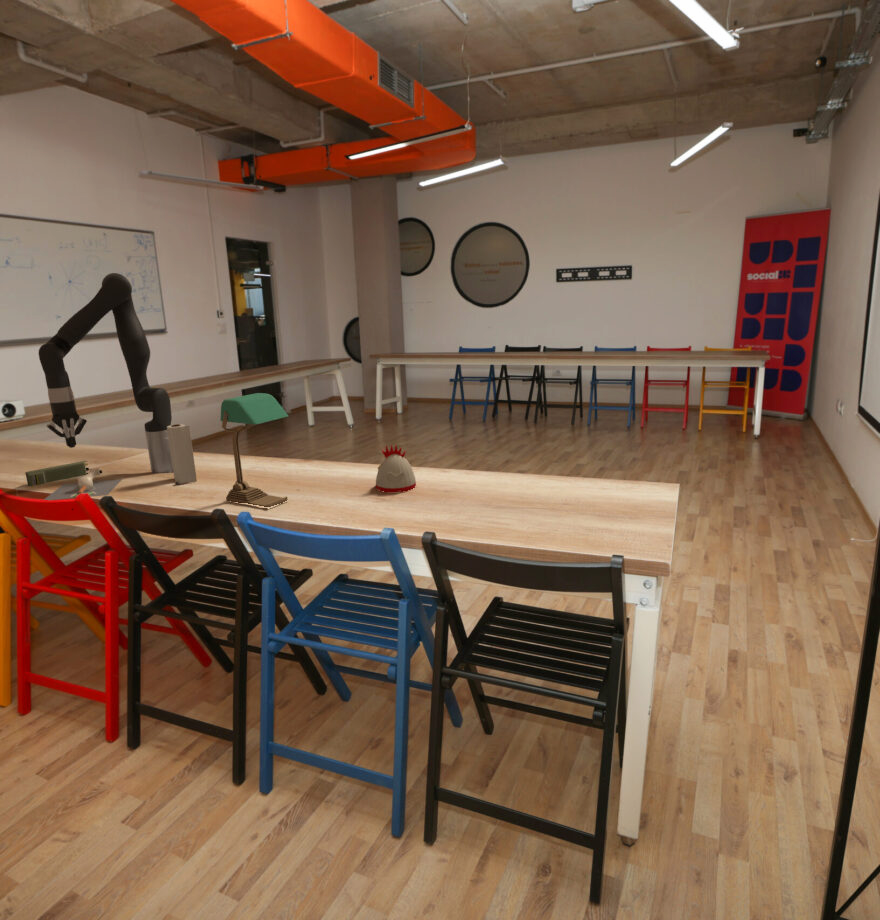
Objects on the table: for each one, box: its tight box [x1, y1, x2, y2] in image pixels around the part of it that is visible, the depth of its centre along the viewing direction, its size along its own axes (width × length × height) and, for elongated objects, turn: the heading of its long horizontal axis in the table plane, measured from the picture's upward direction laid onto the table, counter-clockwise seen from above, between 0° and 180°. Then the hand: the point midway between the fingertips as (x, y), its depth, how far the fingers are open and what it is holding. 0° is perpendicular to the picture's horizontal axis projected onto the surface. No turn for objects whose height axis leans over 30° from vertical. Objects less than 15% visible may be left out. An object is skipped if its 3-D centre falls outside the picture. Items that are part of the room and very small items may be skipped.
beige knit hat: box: [375, 444, 417, 493], centre depth 213 cm, size 14×14×15 cm
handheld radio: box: [24, 460, 103, 487], centre depth 234 cm, size 7×3×25 cm
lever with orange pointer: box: [76, 467, 101, 494], centre depth 220 cm, size 22×4×4 cm, turn 16°
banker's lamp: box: [220, 392, 289, 507], centre depth 198 cm, size 16×21×35 cm
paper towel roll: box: [167, 423, 198, 485], centre depth 225 cm, size 7×6×21 cm
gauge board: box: [43, 478, 123, 501], centre depth 219 cm, size 20×20×2 cm
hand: (71, 447), depth 223 cm, fingers closed
